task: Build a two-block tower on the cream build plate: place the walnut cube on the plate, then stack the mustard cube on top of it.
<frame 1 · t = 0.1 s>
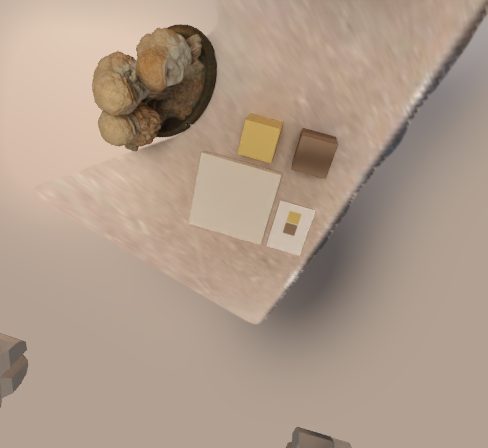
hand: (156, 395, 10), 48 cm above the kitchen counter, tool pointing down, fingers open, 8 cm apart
walnut block: (313, 148, 54), on the kitchen counter
build plate: (233, 198, 60), on the kitchen counter
instruction sheet: (290, 228, 60), on the kitchen counter
three owls sculpture: (172, 87, 54), on the kitchen counter
mustard block: (262, 134, 54), on the kitchen counter
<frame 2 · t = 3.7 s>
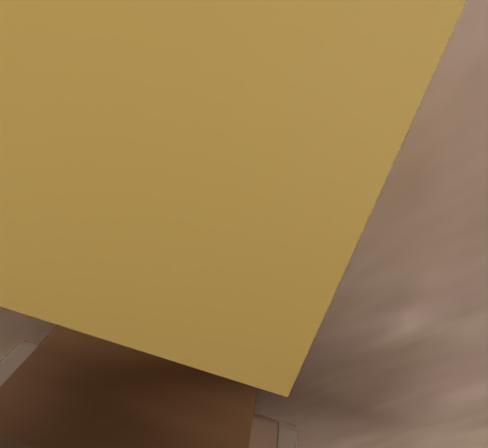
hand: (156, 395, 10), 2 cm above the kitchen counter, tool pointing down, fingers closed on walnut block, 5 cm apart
walnut block: (176, 351, 12), on the kitchen counter, touching gripper
mustard block: (227, 106, 8), on the kitchen counter
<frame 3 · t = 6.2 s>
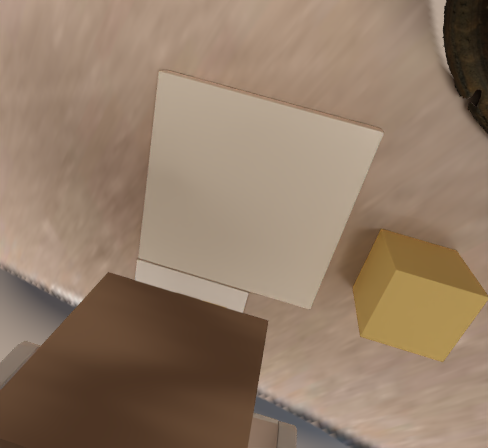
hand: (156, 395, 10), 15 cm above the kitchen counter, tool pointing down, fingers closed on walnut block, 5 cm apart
walnut block: (175, 354, 12), point 14 cm above the kitchen counter, touching gripper
build plate: (246, 197, 24), on the kitchen counter
instruction sheet: (186, 304, 29), on the kitchen counter
mustard block: (401, 269, 25), on the kitchen counter
when the fingers open (4 cm above the kitchen counter, at t = 8.6 s): walnut block stays where it is, resting on build plate.
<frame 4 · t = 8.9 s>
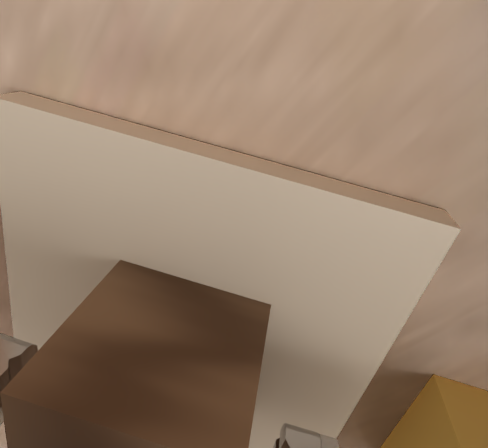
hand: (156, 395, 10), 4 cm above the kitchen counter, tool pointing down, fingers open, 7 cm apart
walnut block: (183, 338, 13), point 1 cm above the kitchen counter, touching build plate
build plate: (192, 313, 14), on the kitchen counter
mustard block: (464, 434, 14), on the kitchen counter
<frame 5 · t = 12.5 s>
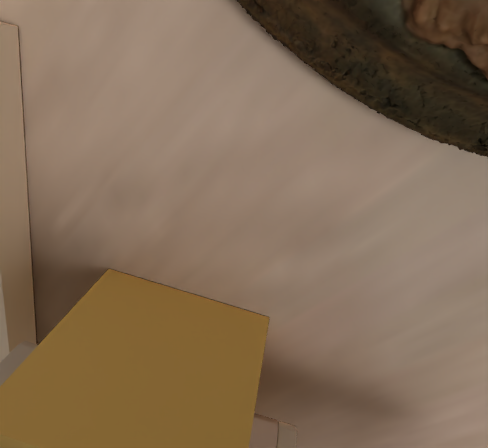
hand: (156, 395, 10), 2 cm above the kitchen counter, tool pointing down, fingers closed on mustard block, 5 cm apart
mustard block: (176, 351, 12), on the kitchen counter, touching gripper
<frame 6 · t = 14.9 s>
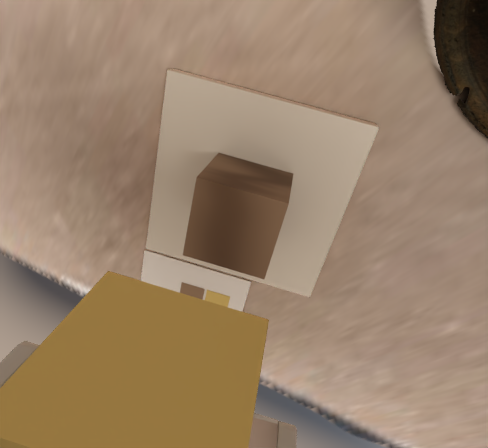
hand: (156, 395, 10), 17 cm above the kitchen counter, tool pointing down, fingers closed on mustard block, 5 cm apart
walnut block: (247, 197, 24), point 1 cm above the kitchen counter, touching build plate
build plate: (249, 190, 25), on the kitchen counter
instruction sheet: (191, 294, 30), on the kitchen counter
mustard block: (175, 353, 12), point 15 cm above the kitchen counter, touching gripper
when the fingers open (9 cm above the kitchen counter, at t = 17.1 s): mustard block stays where it is, resting on walnut block.
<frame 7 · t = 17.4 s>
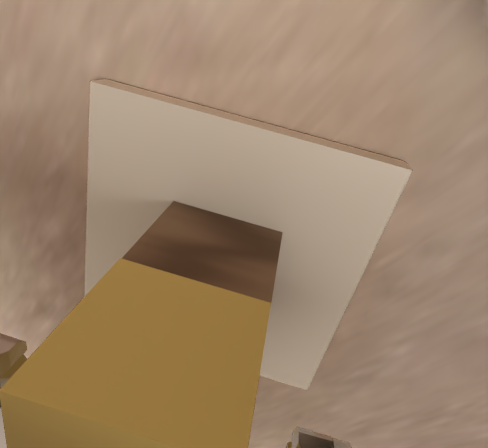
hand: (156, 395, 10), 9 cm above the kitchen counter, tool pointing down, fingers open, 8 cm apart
walnut block: (216, 262, 17), point 1 cm above the kitchen counter, touching build plate, mustard block
build plate: (221, 248, 18), on the kitchen counter
mustard block: (183, 336, 12), point 6 cm above the kitchen counter, touching walnut block
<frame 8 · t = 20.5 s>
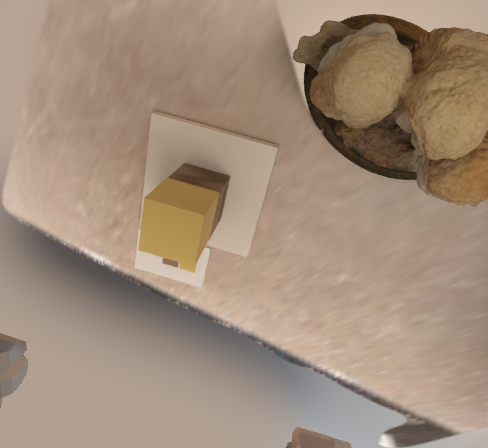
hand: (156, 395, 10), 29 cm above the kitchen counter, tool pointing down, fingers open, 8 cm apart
walnut block: (203, 191, 38), point 1 cm above the kitchen counter, touching build plate, mustard block
build plate: (205, 186, 39), on the kitchen counter
instruction sheet: (171, 258, 44), on the kitchen counter
three owls sculpture: (383, 99, 33), on the kitchen counter
mustard block: (188, 209, 34), point 6 cm above the kitchen counter, touching walnut block
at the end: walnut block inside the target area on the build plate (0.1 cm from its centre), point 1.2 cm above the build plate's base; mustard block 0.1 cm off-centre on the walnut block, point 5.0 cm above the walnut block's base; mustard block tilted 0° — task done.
